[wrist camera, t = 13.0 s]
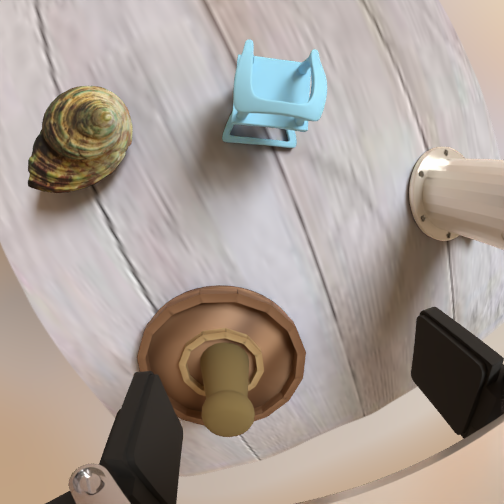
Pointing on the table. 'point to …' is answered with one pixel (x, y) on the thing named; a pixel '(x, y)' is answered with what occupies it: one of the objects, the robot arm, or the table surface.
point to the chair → (276, 96)
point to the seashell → (79, 140)
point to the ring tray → (217, 331)
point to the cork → (226, 390)
